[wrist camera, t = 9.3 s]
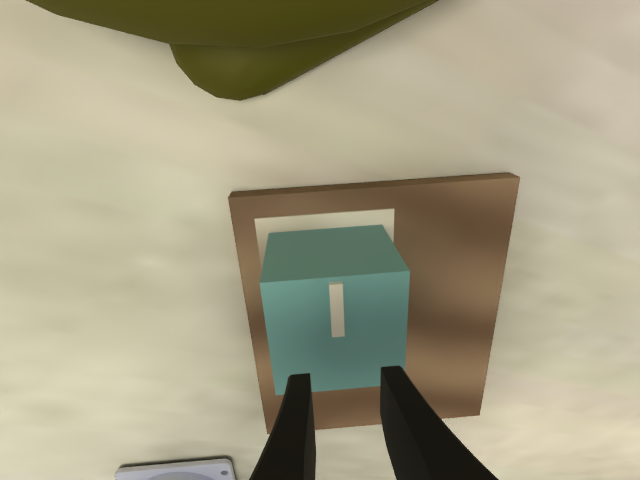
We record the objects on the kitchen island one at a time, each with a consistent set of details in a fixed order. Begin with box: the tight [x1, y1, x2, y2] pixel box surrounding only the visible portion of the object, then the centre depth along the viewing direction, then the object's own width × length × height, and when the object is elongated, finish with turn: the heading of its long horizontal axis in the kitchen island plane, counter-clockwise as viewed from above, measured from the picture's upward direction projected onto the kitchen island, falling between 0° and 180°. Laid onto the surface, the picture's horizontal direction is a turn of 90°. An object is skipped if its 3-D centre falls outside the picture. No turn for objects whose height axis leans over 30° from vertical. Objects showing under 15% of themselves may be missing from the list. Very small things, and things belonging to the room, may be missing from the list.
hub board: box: [228, 173, 520, 434], centre depth 19 cm, size 16×14×4 cm
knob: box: [260, 224, 410, 395], centre depth 17 cm, size 6×6×5 cm
